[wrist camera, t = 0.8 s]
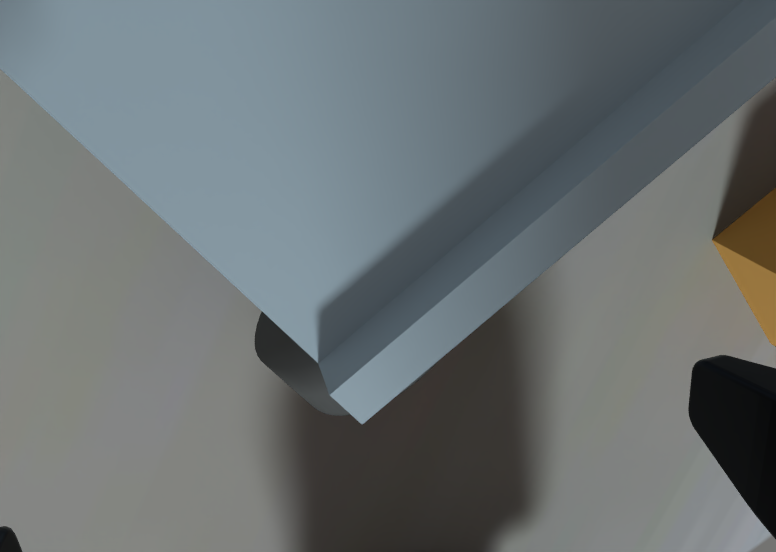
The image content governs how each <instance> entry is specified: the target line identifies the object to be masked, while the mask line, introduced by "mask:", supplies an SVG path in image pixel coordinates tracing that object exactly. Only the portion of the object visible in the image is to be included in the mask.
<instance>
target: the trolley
mask: <svg viewBox="0 0 776 552" xmlns="http://www.w3.org/2000/svg"><path fill="white" fill-rule="evenodd" d="M0 69H1V70H2V71H3V72H4V73H6V74H7V75H8V76H9V77H10V78H11V79H12V80H13V81H14V82H15V83H16V84H17V85H18V86H20V87H21V88H22V89H23V90H24V91H25V92H26V93H27V94H28V95H29V96H30V97H31V98H33V99H34V100H35V101H36V102H37V103H38V104H39V105H40V106H41V107H42V108H43V109H44V110H45V111H47V112H48V113H49V114H50V115H51V116H52V117H53V118H54V119H55V120H56V121H57V122H58V123H59V124H61V125H62V126H63V127H64V128H65V129H66V130H67V131H68V132H69V133H70V134H71V135H72V136H74V137H75V138H76V139H77V140H78V141H79V142H80V143H81V144H82V145H83V146H84V147H85V148H86V149H88V150H89V151H90V152H91V153H92V154H93V155H94V156H95V157H96V158H97V159H98V160H99V161H100V162H102V163H103V164H104V165H105V166H106V167H107V168H108V169H109V170H110V171H111V172H112V173H113V174H115V175H116V176H117V177H118V178H119V179H120V180H121V181H122V182H123V183H124V184H125V185H126V186H127V187H129V188H130V189H131V190H132V191H133V192H134V193H135V194H136V195H137V196H138V197H139V198H140V199H141V200H143V201H144V202H145V203H146V204H147V205H148V206H149V207H150V208H151V209H152V210H153V211H154V212H155V213H157V214H158V215H159V216H160V217H161V218H162V219H163V220H164V221H165V222H166V223H167V224H168V225H170V226H171V227H172V228H173V229H174V230H175V231H176V232H177V233H178V234H179V235H180V236H181V237H182V238H184V239H185V240H186V241H187V242H188V243H189V244H190V245H191V246H192V247H193V248H194V249H195V250H196V251H198V252H199V253H200V254H201V255H202V256H203V257H204V258H205V259H206V260H207V261H208V262H209V263H211V264H212V265H213V266H214V267H215V268H216V269H217V270H218V271H219V272H220V273H221V274H222V275H223V276H225V277H226V278H227V279H228V280H229V281H230V282H231V283H232V284H233V285H234V286H235V287H236V288H237V289H239V290H240V291H241V292H242V293H243V294H244V295H245V296H246V297H247V298H248V299H249V300H250V301H252V302H253V303H254V304H255V305H256V306H257V307H258V308H259V309H260V310H261V311H262V312H261V315H260V318H259V321H258V324H257V328H256V332H255V350H256V352H257V355H258V357H259V358H260V360H261V361H262V362H263V363H264V364H265V365H266V366H267V367H269V368H270V369H271V370H272V371H273V372H274V373H275V374H276V375H278V376H279V377H280V378H281V379H282V380H283V381H284V382H286V383H287V384H288V385H289V386H290V387H291V388H292V389H294V390H295V391H296V392H297V393H298V394H299V395H300V396H302V397H303V398H304V399H305V400H306V401H307V402H308V403H309V404H311V405H312V406H313V407H314V408H316V409H317V410H318V411H320V412H323V413H325V414H330V415H352V416H353V417H354V418H355V419H356V420H357V421H359V422H360V423H361V424H364V423H365V422H366V421H367V420H368V419H370V418H371V417H372V416H373V415H374V414H375V413H377V412H378V411H379V410H380V409H381V408H383V407H384V406H385V405H386V404H387V403H389V402H390V401H391V400H392V399H393V398H394V397H396V396H397V395H399V394H400V393H402V392H403V391H405V390H406V389H408V388H409V387H410V386H411V385H413V384H414V383H415V382H417V381H418V380H419V379H420V378H421V377H422V376H424V375H425V374H426V373H427V372H428V371H429V370H430V369H431V368H432V367H433V366H434V365H435V364H436V363H437V362H438V361H439V360H440V359H441V358H442V357H443V356H444V355H446V354H447V353H448V352H449V351H450V350H452V349H453V348H454V347H455V346H456V345H458V344H459V343H460V342H461V341H462V340H463V339H465V338H466V337H467V336H468V335H469V334H471V333H472V332H473V331H474V330H475V329H477V328H478V327H479V326H480V325H481V324H483V323H484V322H485V321H486V320H487V319H488V318H490V317H491V316H492V315H493V314H494V313H496V312H497V311H498V310H499V309H500V308H502V307H503V306H504V305H505V304H506V303H508V302H509V301H510V300H511V299H512V298H513V297H515V296H516V295H517V294H518V293H519V292H521V291H522V290H523V289H524V288H525V287H527V286H528V285H529V284H530V283H531V282H532V281H534V280H535V279H536V278H537V277H538V276H540V275H541V274H542V273H543V272H544V271H546V270H547V269H548V268H549V267H550V266H552V265H553V264H554V263H555V262H556V261H557V260H559V259H560V258H561V257H562V256H563V255H565V254H566V253H567V252H568V251H569V250H571V249H572V248H573V247H574V246H575V245H577V244H578V243H579V242H580V241H581V240H582V239H584V238H585V237H586V236H587V235H588V234H590V233H591V232H592V231H593V230H594V229H596V228H597V227H598V226H599V225H600V224H601V223H603V222H604V221H605V220H606V219H607V218H609V217H610V216H611V215H612V214H613V213H615V212H616V211H617V210H618V209H619V208H621V207H622V206H623V205H624V204H625V203H626V202H628V201H629V200H630V199H631V198H632V197H634V196H635V195H636V194H637V193H638V192H640V191H641V190H642V189H643V188H644V187H646V186H647V185H648V184H649V183H650V182H651V181H653V180H654V179H655V178H656V177H657V176H659V175H660V174H661V173H662V172H663V171H665V170H666V169H667V168H668V167H669V166H671V165H672V164H673V163H674V162H675V161H676V160H678V159H679V158H680V157H681V156H682V155H684V154H685V153H686V152H687V151H688V150H690V149H691V148H692V147H693V146H694V145H695V144H697V143H698V142H699V141H700V140H701V139H703V138H704V137H705V136H706V135H707V134H709V133H710V132H711V131H712V130H713V129H715V128H716V127H717V126H718V125H719V124H720V123H722V122H723V121H724V120H725V119H726V118H728V117H729V116H730V115H731V114H732V113H734V112H735V111H736V110H737V109H738V108H740V107H741V106H742V105H743V104H744V103H745V102H747V101H748V100H749V99H750V98H751V97H753V96H754V95H755V94H756V93H757V92H759V91H760V90H761V89H762V88H763V87H764V86H766V85H767V84H768V83H769V82H770V81H772V80H773V79H774V78H775V77H776V0H0Z"/></svg>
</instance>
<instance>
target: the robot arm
mask: <svg viewBox="0 0 776 552" xmlns="http://www.w3.org/2000/svg"><path fill="white" fill-rule="evenodd" d="M689 417H690V420H691V423H692V425H693V427H694V429H695V430H696V431H697V433H698V434H699V436H700V437H701V439H702V440H703V441H704V443H705V444H706V446H707V447H708V449H709V450H710V452H711V453H712V454H713V456H714V457H715V459H716V460H717V462H718V463H719V464H720V466H721V467H722V469H723V470H724V472H725V473H726V474H727V476H728V477H729V479H730V480H731V482H732V483H733V484H734V486H735V487H736V489H737V490H738V492H739V493H740V494H741V496H742V497H743V499H744V500H745V501H746V503H747V504H748V506H749V507H750V508H751V510H752V511H753V512H754V514H755V515H756V516H757V517H758V519H759V520H760V521H761V522H762V524H763V525H764V526H765V527H766V528H767V530H768V531H769V532H770V533H771V534H772V536H773V537H774V538H775V539H776V368H772V367H768V366H764V365H761V364H757V363H753V362H749V361H746V360H742V359H738V358H735V357H731V356H727V355H719V356H715V357H711V358H706V359H702V360H699V361H698V362H696V363H695V365H694V367H693V370H692V378H691V388H690V398H689ZM0 552H22V550H21V547H20V544H19V542H18V539H17V537H16V535H15V533H14V532H13V530H12V529H11V528H9V527H6V526H3V527H0Z"/></svg>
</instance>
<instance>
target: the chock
mask: <svg viewBox="0 0 776 552" xmlns="http://www.w3.org/2000/svg"><path fill="white" fill-rule="evenodd" d="M712 241H713V243H714V244H715V246H716V248H717V250H718V251H719V253H720V255H721V257H722V259H723V260H724V262H725V264H726V266H727V267H728V269H729V271H730V273H731V274H732V276H733V278H734V280H735V281H736V283H737V285H738V287H739V289H740V290H741V292H742V294H743V296H744V297H745V299H746V301H747V303H748V304H749V306H750V308H751V310H752V312H753V313H754V315H755V317H756V319H757V320H758V322H759V324H760V326H761V327H762V329H763V331H764V333H765V334H766V336H767V338H768V340H769V342H770V343H771V344H772V345H774V346H775V347H776V188H775V189H773V190H772V191H771V192H770V193H769V194H767V195H766V196H765V197H764V198H762V199H761V200H760V201H759V202H758V203H756V204H755V205H754V206H753V207H752V208H750V209H749V210H748V211H747V212H745V213H744V214H743V215H742V216H741V217H739V218H738V219H737V220H736V221H735V222H733V223H732V224H731V225H730V226H728V227H727V228H726V229H725V230H724V231H722V232H721V233H720V234H719V235H718V236H716V237H715V238H714V239H713V240H712Z"/></svg>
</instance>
